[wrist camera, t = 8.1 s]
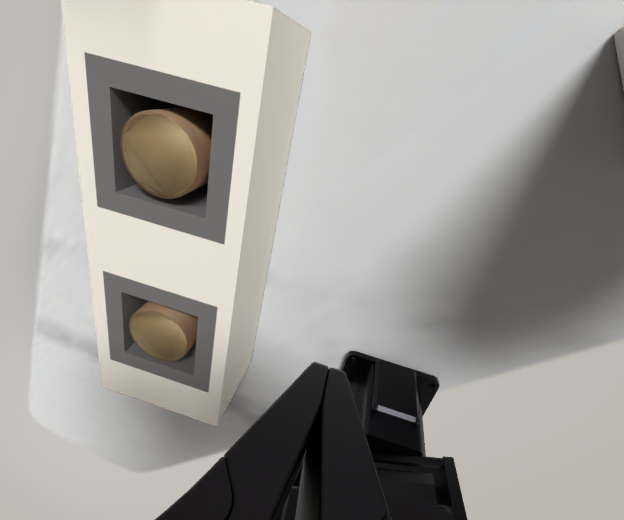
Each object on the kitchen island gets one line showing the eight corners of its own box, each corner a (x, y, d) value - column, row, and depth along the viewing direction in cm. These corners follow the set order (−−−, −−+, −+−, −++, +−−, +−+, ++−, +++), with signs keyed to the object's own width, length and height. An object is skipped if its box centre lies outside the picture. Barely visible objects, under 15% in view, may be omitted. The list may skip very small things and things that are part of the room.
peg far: (229, 312, 25) (186, 369, 20) (182, 297, 25) (129, 350, 20) (234, 270, 23) (190, 320, 18) (184, 254, 24) (127, 300, 19)
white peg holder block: (251, 361, 27) (217, 426, 22) (157, 329, 28) (101, 386, 23) (311, 31, 17) (273, 6, 11) (158, -6, 17) (56, -45, 12)
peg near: (246, 177, 20) (196, 208, 15) (188, 161, 21) (122, 186, 16) (254, 113, 19) (202, 122, 14) (192, 96, 19) (118, 100, 14)
